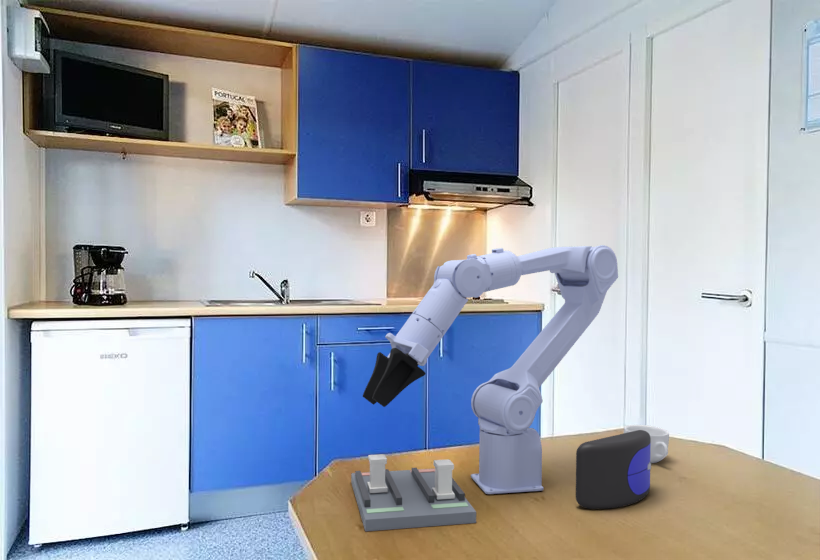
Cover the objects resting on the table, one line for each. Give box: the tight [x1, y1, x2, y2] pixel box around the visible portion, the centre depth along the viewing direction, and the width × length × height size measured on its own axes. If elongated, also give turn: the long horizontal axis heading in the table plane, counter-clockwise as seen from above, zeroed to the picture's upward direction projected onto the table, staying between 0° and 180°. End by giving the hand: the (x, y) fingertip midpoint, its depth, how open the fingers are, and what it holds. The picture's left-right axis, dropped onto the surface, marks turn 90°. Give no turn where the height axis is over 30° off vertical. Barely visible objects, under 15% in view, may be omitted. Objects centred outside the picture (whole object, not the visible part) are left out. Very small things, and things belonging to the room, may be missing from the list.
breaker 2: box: [432, 459, 455, 500], centre depth 83 cm, size 3×3×5 cm
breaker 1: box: [367, 453, 388, 493], centre depth 85 cm, size 3×3×5 cm
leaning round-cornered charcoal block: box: [575, 430, 652, 510], centre depth 86 cm, size 16×5×9 cm, turn 124°
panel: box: [350, 467, 477, 532], centre depth 85 cm, size 15×18×2 cm
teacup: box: [623, 424, 670, 464], centre depth 105 cm, size 10×8×5 cm
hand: (372, 401), depth 82 cm, fingers open, 7 cm apart
